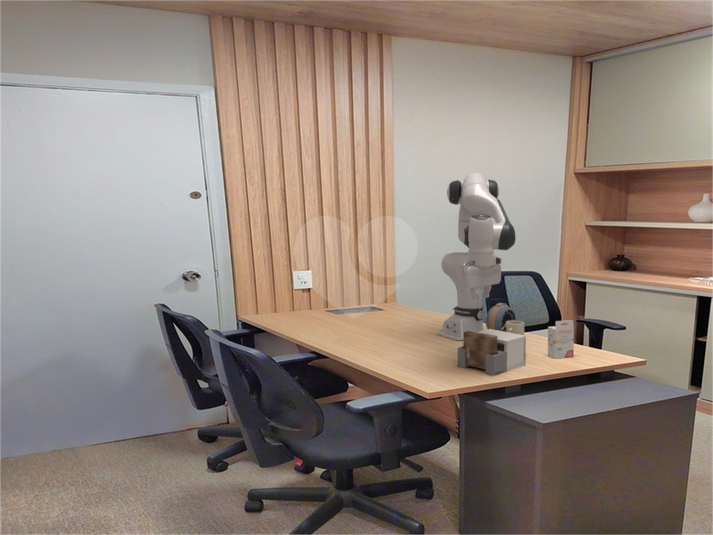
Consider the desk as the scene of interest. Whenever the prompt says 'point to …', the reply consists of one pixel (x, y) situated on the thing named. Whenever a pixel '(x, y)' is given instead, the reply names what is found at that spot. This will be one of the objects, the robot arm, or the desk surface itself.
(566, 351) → the ink cartridge box
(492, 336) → the wooden block
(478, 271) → the robot arm
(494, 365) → the cabinet
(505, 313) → the alarm clock
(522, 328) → the character mug
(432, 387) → the desk surface
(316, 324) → the desk surface
